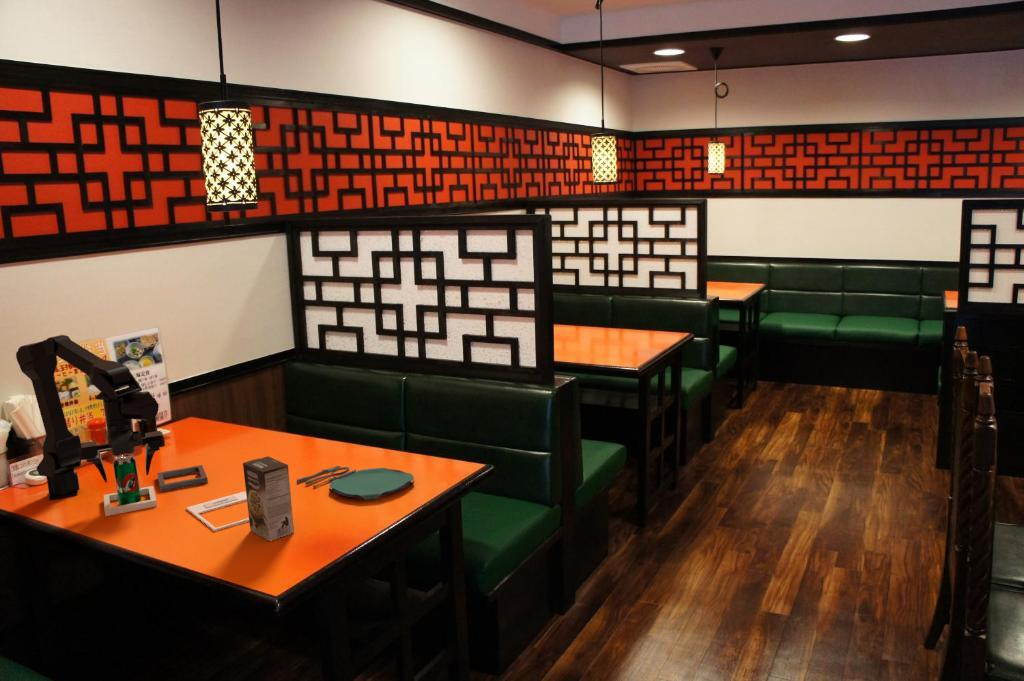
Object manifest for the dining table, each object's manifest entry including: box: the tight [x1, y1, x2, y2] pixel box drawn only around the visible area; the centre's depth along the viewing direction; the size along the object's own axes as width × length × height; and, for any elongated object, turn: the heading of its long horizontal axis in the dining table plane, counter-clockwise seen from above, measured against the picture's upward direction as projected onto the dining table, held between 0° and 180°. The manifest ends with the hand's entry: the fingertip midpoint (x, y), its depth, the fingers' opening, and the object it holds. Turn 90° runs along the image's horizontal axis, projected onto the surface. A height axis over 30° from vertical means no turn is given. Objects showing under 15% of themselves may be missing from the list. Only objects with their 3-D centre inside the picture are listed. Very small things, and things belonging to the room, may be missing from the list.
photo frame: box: [185, 490, 249, 532], centre depth 196 cm, size 15×1×18 cm
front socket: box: [103, 485, 158, 517], centre depth 204 cm, size 11×11×2 cm
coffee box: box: [242, 456, 295, 542], centre depth 182 cm, size 9×6×16 cm
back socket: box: [156, 464, 209, 493], centre depth 218 cm, size 11×11×2 cm
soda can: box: [112, 453, 142, 506], centre depth 203 cm, size 5×5×12 cm
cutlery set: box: [296, 465, 415, 501], centre depth 211 cm, size 20×30×2 cm, turn 54°
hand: (127, 478), depth 203 cm, fingers open, 9 cm apart
